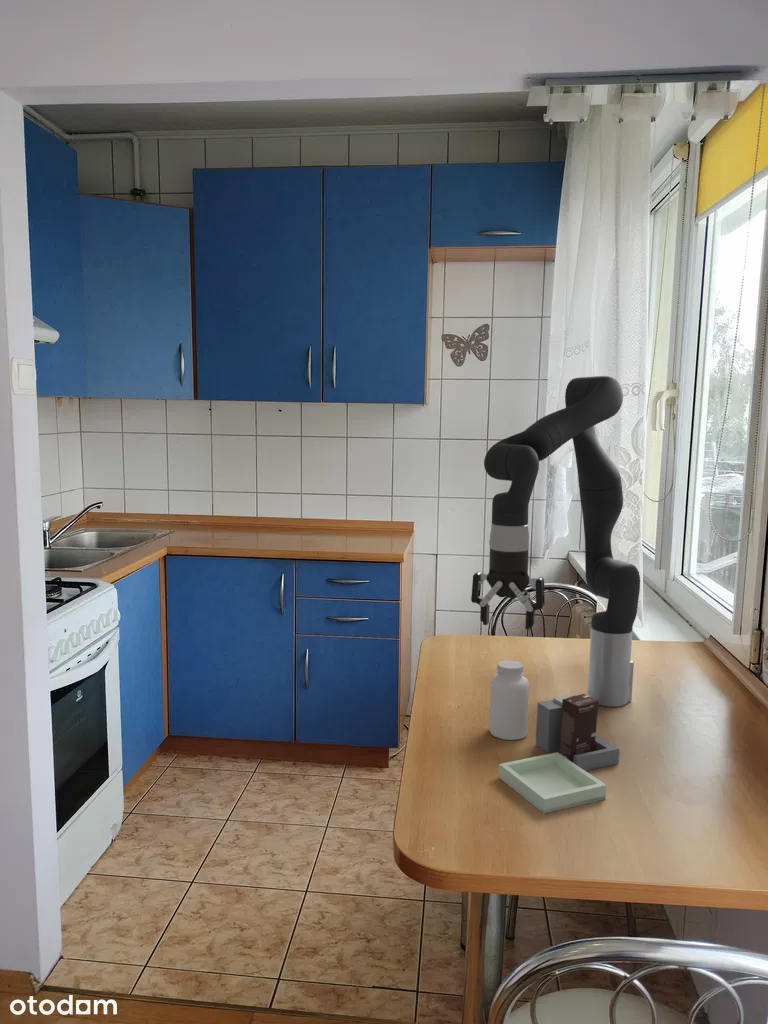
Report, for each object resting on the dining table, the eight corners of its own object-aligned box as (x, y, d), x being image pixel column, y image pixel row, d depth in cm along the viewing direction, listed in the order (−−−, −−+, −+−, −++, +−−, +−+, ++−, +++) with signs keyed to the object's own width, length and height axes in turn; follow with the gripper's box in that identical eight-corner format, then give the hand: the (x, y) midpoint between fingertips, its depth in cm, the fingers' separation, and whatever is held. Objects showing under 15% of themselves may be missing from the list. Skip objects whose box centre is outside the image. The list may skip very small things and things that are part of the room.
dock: (575, 737, 163) (578, 692, 162) (618, 763, 152) (621, 715, 150) (535, 744, 159) (537, 699, 158) (576, 772, 147) (578, 723, 146)
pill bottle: (481, 728, 167) (484, 660, 165) (514, 723, 170) (516, 656, 168) (501, 743, 160) (504, 672, 157) (535, 737, 163) (538, 667, 161)
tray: (556, 765, 150) (557, 752, 150) (605, 799, 138) (606, 785, 137) (498, 777, 145) (499, 764, 145) (543, 813, 133) (544, 799, 132)
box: (574, 766, 150) (577, 706, 148) (557, 757, 154) (560, 698, 152) (596, 758, 153) (599, 699, 152) (578, 750, 157) (582, 692, 155)
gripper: (549, 545, 155) (546, 625, 157) (478, 540, 160) (477, 617, 163) (541, 552, 148) (538, 636, 151) (468, 547, 154) (467, 627, 156)
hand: (506, 626), depth 157 cm, fingers open, 8 cm apart
